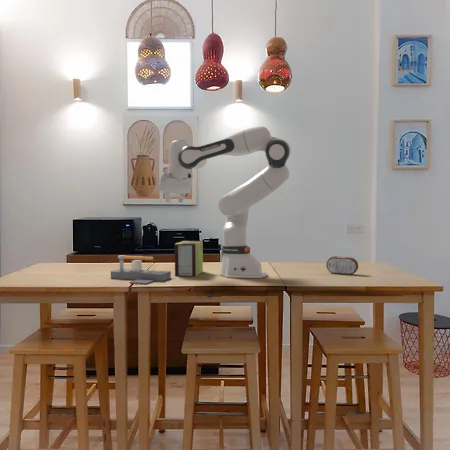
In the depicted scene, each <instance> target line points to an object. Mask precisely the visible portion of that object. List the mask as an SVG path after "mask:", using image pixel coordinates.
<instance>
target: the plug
mask: <svg viewBox="0 0 450 450" xmlns="http://www.w3.org/2000/svg"><path fill="white" fill-rule="evenodd" d="M142 265H143V262H142V259H132V260H131V269H132V272H142V270H143V269H142V268H143V267H142Z"/></svg>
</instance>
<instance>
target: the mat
mask: <svg viewBox="0 0 450 450" xmlns="http://www.w3.org/2000/svg"><path fill="white" fill-rule="evenodd" d="M154 282H156V281H155V280H147V279H138V280H132V281H129V284H132V285H133V284H135V285H146V286H147V285H149V284H151V283H154Z"/></svg>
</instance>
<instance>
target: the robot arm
mask: <svg viewBox="0 0 450 450" xmlns="http://www.w3.org/2000/svg"><path fill="white" fill-rule="evenodd" d="M259 151H260V152H264V153H265V157H266V160H267V163H268V165H267V166H266V167H265V168H264V169H262V170H261V171H260V172H258V173H256V174H255V175H254V176H253V177H251V178H250V179H248V180H247V181H246V182H244V183H242V184H241V185H239V186H237V187H236V188H234V189H232V190H231V191H229V192H227V193H226V194H224V195H222V197H220V199H219V200H218V205H217V206H218V210H219V212H220V213H221V214H222V215H223V216H225V220H224V225H223V229H222V246H221V255H222V261H221V268H220V272H219V276H223V277H226V278H231V279H232V278H233V279H234V278H235V279H240V278H241V279H243V278H244V279H245V278H246V279H261V278H265V277H267V272H266V271H263V267H262V263H261V261H260V260H259V259H257V258H256V257H255V256H254V255H253V254H251V246H248V245H247V225H248V218H249V209H250V207H252V206H255V204H257V203H259V202H261V201H262V200H263V199H265V198H266V197H268V196H270V195H271V194H272V193H273V192H275V191H276V190H277V189H279V188H280V187H281V186H282V185H283V184H285V182H286V181H287V180H288V179H289V177H290V170H289V168H288V167H287V165H286V163H287V160H288V159H289V157H290V155H291V146H290V143H289V142H288V141H286V140H285V139H283V138H279V137H275V136H274V137H273V136H272V135H271V132H270V130H269V129H268V128H267V127H265V126H255V127H251V128H245V129H243V130H240V131H238V132H235V133H233V134H231V135H228V136H227V137H225V138H222V139H220V140H217V141H214V142H210V143H206V144H203V145H200V146H194V145H193V144H191V143H190V142H188V141H187V140H185V139H176V140H173V141H172V142H171V143H170V146H169V152H168V153H169V154H168V165H167V172H163V173H162V174H161V176H160V179H159V185H158V191H159V192H160V193H164V194H163V196H164V198H165V203H171V198H170V194H180V197H179V198H178V203H184V199H185V197H186V194H190V193H191V191H192V185H193V181H192V179H193V174H192V173H190V171H189V172H188V171H187V169H189V170H190V169H194V170H195V169H201V168H203V167H204V166H205V165H206V164H207V160H208V159H212V158H215V157H220V156H233V157H240V156H246V155H250V154H253V153H256V152H259Z"/></svg>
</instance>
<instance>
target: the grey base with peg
mask: <svg viewBox="0 0 450 450" xmlns="http://www.w3.org/2000/svg"><path fill="white" fill-rule="evenodd" d="M124 260H125V259H119V269H115V270H111V271H110V279H116V280H117V279H118V280H129V281H130V280H132V281H135V280H138V279H147V280H155V282H160V283H161V282H164V281H167V280H169V279H171V278H172V272H171V271H170V270H155V269H154V270H153V269H142V272H132V268H125V267H124V264H125V263H124Z"/></svg>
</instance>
